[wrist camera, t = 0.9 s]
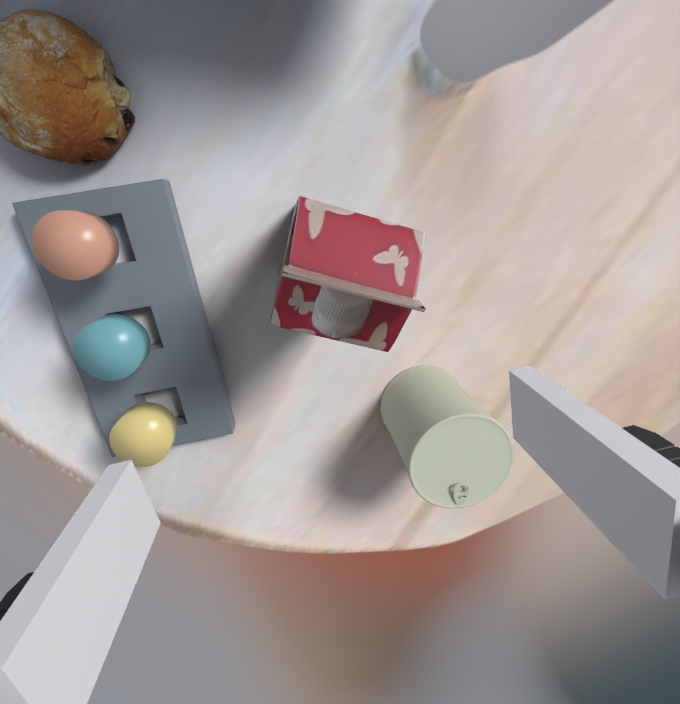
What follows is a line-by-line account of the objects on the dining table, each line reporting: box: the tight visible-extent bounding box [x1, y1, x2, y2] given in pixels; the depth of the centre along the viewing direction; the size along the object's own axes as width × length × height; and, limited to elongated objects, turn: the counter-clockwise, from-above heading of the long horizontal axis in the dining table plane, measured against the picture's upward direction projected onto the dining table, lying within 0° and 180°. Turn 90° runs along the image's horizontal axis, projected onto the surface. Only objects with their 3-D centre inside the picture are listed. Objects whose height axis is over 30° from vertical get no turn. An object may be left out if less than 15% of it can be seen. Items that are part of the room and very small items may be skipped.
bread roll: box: [0, 9, 135, 165], centre depth 31 cm, size 10×10×8 cm
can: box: [380, 365, 514, 508], centre depth 40 cm, size 9×9×12 cm
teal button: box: [74, 314, 151, 381], centre depth 34 cm, size 5×5×4 cm
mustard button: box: [109, 402, 178, 467], centre depth 37 cm, size 5×5×4 cm
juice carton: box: [270, 196, 425, 352], centre depth 29 cm, size 7×7×22 cm
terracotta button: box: [32, 210, 119, 280], centre depth 31 cm, size 5×5×4 cm
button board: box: [12, 179, 235, 457], centre depth 39 cm, size 24×12×2 cm, turn 9°
